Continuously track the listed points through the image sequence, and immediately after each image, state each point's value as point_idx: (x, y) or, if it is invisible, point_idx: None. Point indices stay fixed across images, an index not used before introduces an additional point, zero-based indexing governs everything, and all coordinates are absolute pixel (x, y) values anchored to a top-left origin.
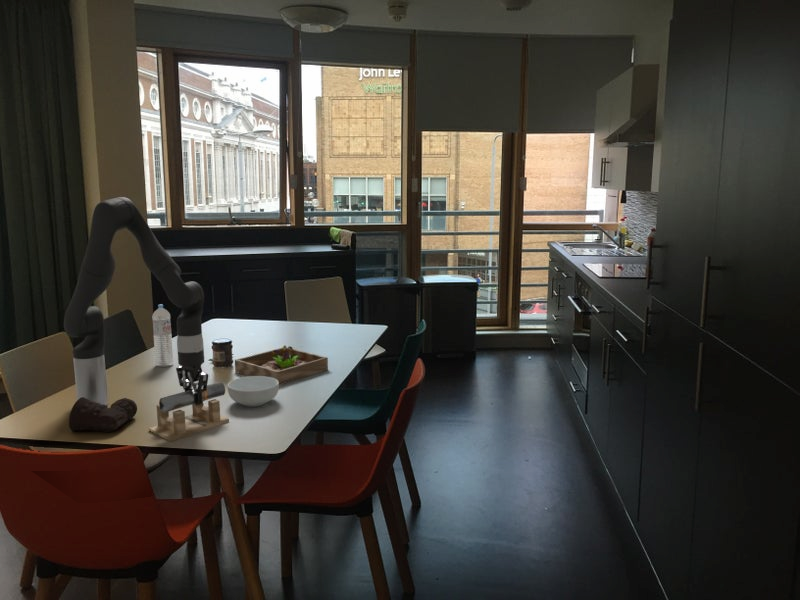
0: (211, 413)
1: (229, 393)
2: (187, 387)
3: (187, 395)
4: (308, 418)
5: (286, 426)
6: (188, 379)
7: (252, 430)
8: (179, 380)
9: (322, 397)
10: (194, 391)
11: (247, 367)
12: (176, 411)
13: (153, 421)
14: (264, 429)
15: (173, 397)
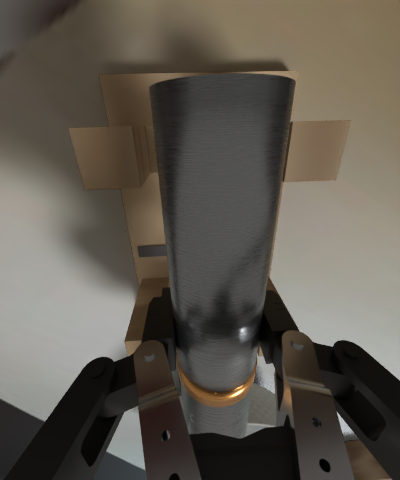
0: (148, 300)
1: (251, 400)
2: (281, 357)
3: (181, 298)
4: (38, 417)
5: (14, 378)
6: (257, 451)
7: (35, 322)
8: (390, 386)
9: (138, 463)
10: (152, 353)
11: (378, 465)
12: (120, 150)
13: (361, 155)
14: (24, 342)
15: (191, 193)
